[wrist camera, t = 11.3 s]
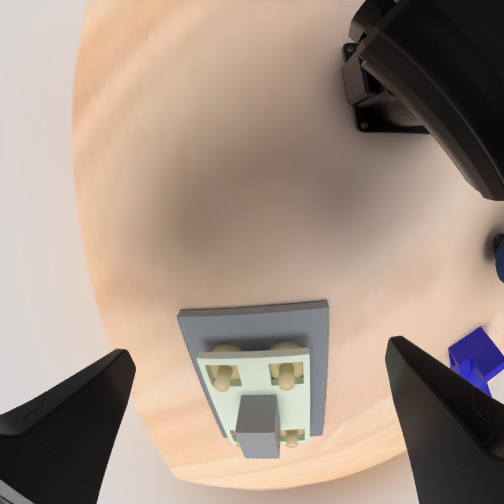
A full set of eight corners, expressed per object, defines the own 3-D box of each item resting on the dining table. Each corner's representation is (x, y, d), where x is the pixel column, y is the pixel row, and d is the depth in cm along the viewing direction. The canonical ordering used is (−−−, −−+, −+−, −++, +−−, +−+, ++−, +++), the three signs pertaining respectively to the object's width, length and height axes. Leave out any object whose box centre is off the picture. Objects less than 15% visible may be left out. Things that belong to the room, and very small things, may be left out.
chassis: (326, 300, 21) (335, 336, 17) (322, 428, 27) (324, 458, 23) (180, 310, 22) (161, 343, 18) (225, 431, 29) (219, 460, 25)
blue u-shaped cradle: (447, 347, 22) (471, 385, 16) (479, 325, 21) (506, 359, 15) (452, 398, 25) (466, 430, 20) (478, 381, 24) (495, 411, 18)
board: (308, 347, 20) (313, 395, 15) (309, 436, 24) (310, 473, 20) (198, 352, 21) (182, 396, 16) (231, 438, 26) (225, 472, 21)
